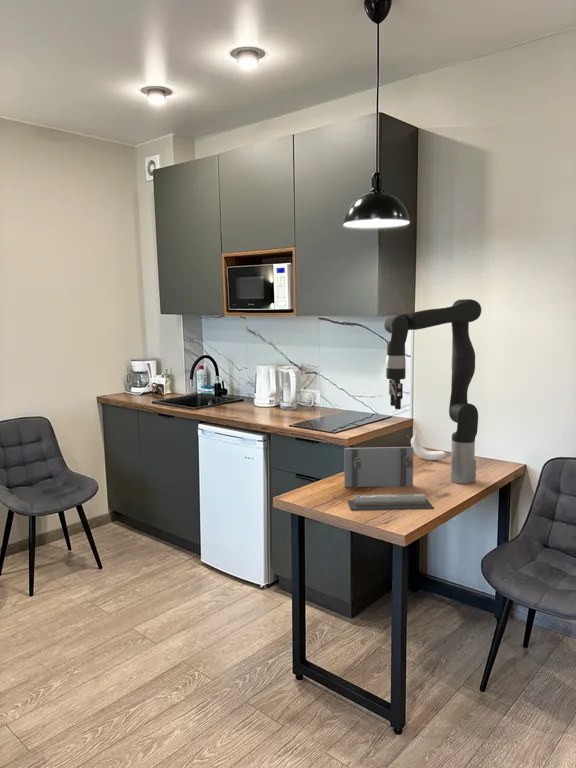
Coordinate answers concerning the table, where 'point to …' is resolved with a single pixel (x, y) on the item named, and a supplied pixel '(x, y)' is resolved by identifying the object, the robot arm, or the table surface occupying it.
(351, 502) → the mat
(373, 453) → the rail stand
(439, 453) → the banana
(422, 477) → the table surface
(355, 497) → the rail
